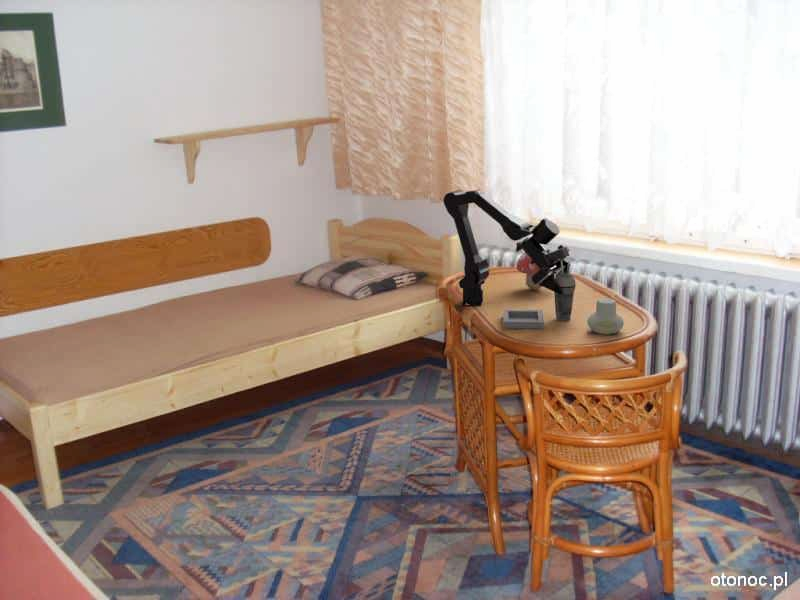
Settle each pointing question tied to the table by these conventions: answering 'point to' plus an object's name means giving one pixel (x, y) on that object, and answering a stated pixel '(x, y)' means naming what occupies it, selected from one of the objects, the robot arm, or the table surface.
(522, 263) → the decorative mushroom
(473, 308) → the table surface
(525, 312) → the tray
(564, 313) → the beverage cup
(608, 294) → the table surface
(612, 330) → the air freshener
